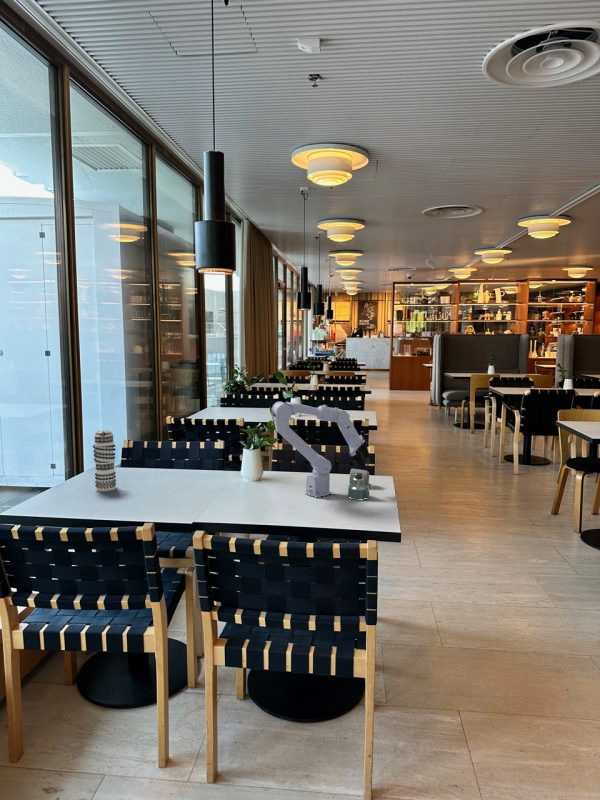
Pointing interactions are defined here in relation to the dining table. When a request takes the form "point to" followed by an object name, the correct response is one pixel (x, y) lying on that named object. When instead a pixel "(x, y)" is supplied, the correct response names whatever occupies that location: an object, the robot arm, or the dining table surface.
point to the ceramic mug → (364, 475)
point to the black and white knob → (358, 478)
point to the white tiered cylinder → (104, 461)
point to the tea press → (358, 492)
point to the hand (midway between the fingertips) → (365, 461)
